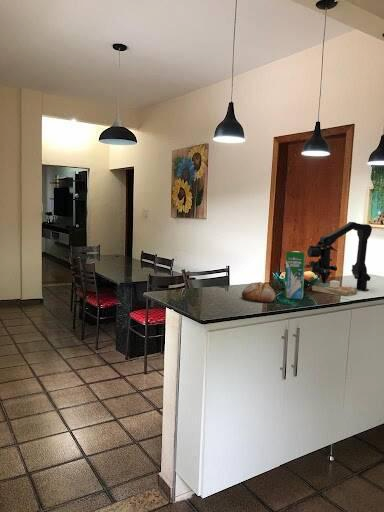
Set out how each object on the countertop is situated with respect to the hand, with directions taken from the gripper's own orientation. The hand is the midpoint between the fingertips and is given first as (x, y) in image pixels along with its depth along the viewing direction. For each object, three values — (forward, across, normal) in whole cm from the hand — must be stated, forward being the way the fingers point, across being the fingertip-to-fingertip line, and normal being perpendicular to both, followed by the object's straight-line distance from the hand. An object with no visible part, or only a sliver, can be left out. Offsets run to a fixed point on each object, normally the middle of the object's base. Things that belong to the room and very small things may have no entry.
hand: (323, 283), depth 243 cm
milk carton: (+4, +33, +2) cm, 33 cm away
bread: (+5, +52, -6) cm, 53 cm away
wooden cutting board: (+4, 0, +7) cm, 8 cm away
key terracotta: (+4, 0, +14) cm, 14 cm away
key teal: (+4, 0, 0) cm, 4 cm away
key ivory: (+1, 0, +7) cm, 7 cm away
